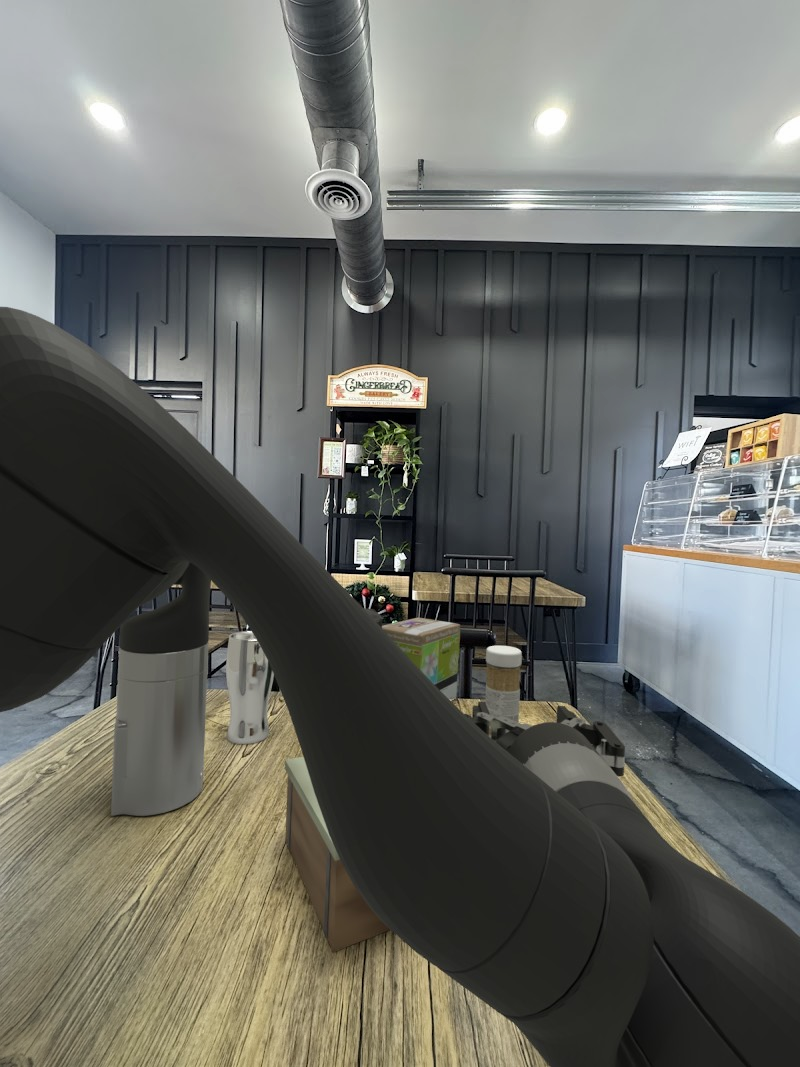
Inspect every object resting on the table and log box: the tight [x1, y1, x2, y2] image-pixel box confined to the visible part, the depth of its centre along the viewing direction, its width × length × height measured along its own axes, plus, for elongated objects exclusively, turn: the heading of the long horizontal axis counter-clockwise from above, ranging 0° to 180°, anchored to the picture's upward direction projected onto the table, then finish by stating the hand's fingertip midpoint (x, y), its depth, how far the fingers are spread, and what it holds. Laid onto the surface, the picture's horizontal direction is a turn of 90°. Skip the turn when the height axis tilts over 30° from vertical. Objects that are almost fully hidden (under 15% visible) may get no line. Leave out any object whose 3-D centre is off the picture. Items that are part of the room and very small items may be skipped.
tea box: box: [382, 617, 461, 700], centre depth 86 cm, size 15×10×15 cm
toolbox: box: [284, 756, 391, 953], centre depth 43 cm, size 8×15×9 cm, turn 28°
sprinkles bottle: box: [484, 645, 523, 735], centre depth 62 cm, size 5×5×14 cm
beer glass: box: [225, 630, 275, 745], centre depth 71 cm, size 7×7×15 cm
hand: (520, 712), depth 51 cm, fingers open, 8 cm apart
